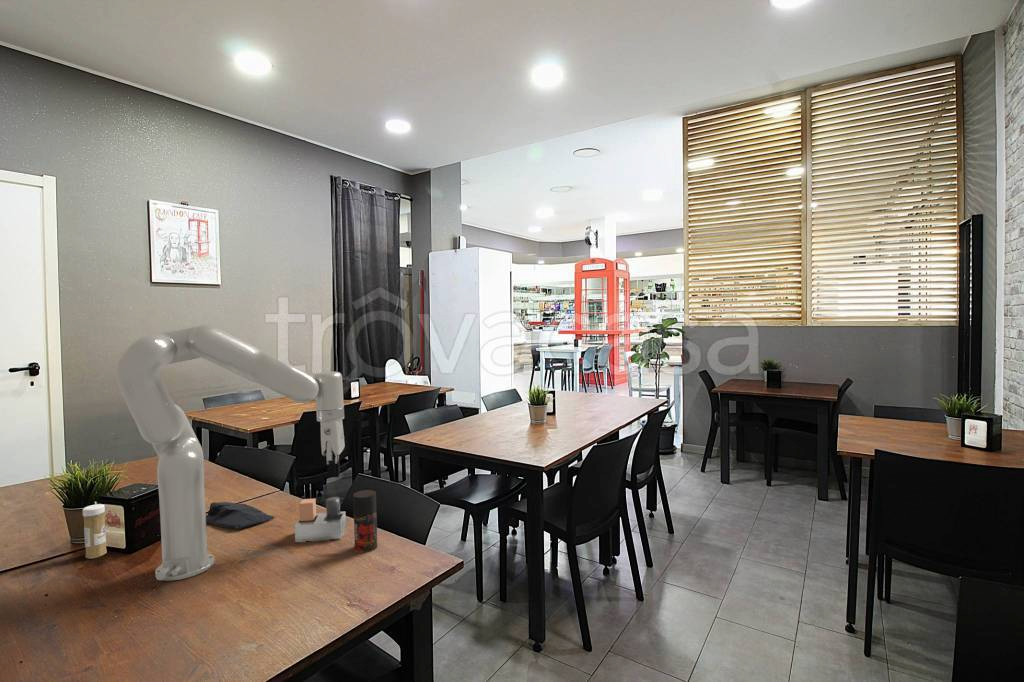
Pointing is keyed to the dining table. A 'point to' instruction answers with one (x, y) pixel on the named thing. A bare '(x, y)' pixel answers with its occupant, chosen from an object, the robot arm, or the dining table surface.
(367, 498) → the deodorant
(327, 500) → the knob round
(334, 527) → the mount
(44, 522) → the dining table surface
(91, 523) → the sprinkles bottle
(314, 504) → the button square
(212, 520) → the dark slate chunk
